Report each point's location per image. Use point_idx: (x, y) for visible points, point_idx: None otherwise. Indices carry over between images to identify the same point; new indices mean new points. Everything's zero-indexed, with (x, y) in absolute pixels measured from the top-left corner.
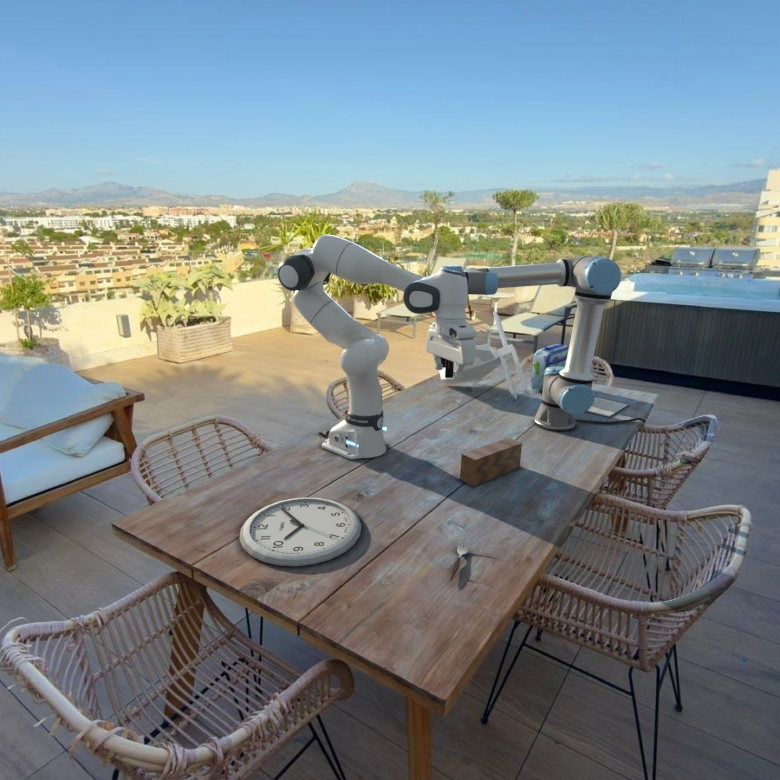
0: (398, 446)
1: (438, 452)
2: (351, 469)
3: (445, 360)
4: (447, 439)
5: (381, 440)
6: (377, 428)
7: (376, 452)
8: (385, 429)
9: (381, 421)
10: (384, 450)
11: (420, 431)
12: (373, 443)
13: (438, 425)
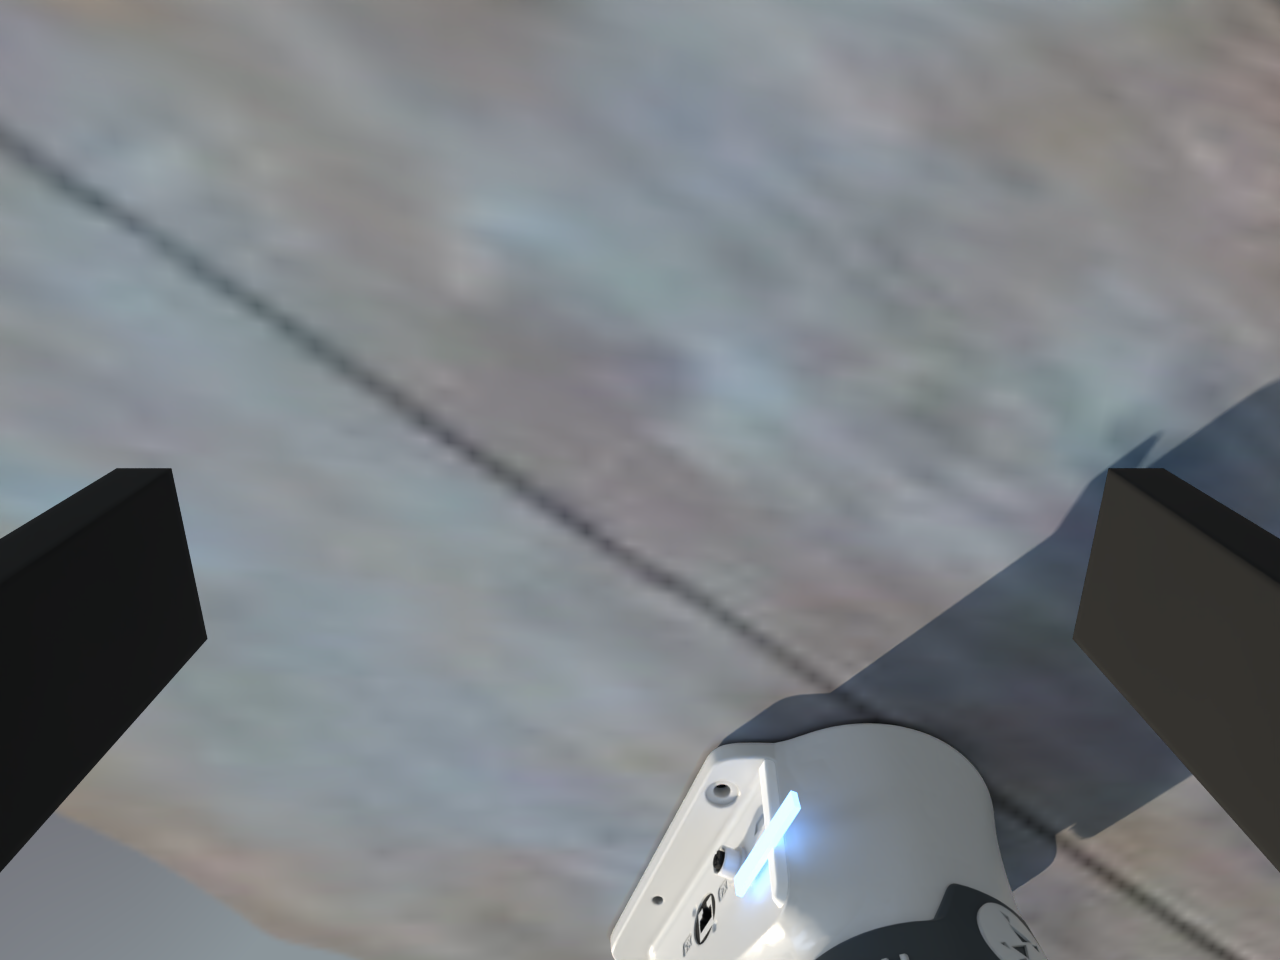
0: (817, 644)
1: (963, 374)
2: (1119, 895)
3: (59, 603)
4: (701, 257)
5: (957, 817)
6: (1029, 932)
7: (984, 798)
8: (795, 803)
9: (1015, 948)
10: (928, 745)
11: (520, 465)
12: (1002, 863)
13: (361, 290)
